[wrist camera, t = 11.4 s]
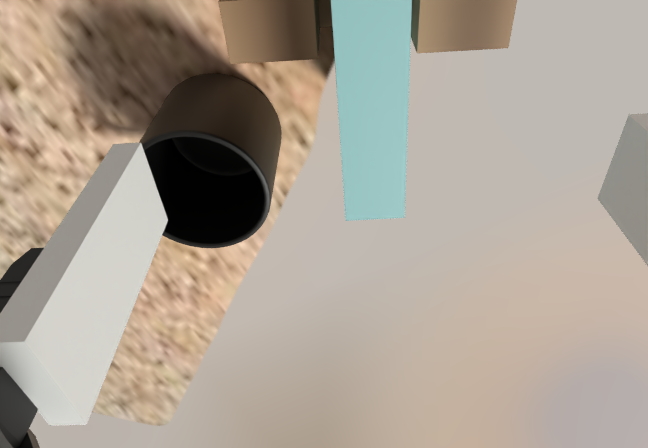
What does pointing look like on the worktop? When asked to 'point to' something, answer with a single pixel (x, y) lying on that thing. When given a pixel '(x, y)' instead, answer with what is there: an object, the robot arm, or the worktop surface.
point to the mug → (214, 160)
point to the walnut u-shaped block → (315, 11)
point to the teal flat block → (373, 103)
